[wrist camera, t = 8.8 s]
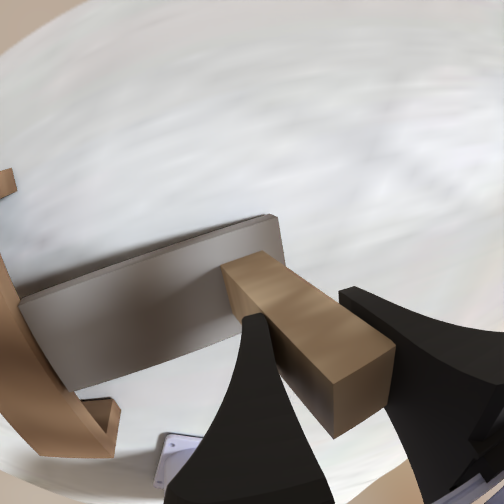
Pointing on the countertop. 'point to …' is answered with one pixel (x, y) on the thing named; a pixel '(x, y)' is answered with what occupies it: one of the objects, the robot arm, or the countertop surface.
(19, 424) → the brown wooden bridge
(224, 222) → the countertop surface
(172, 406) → the countertop surface
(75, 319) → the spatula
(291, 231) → the countertop surface
